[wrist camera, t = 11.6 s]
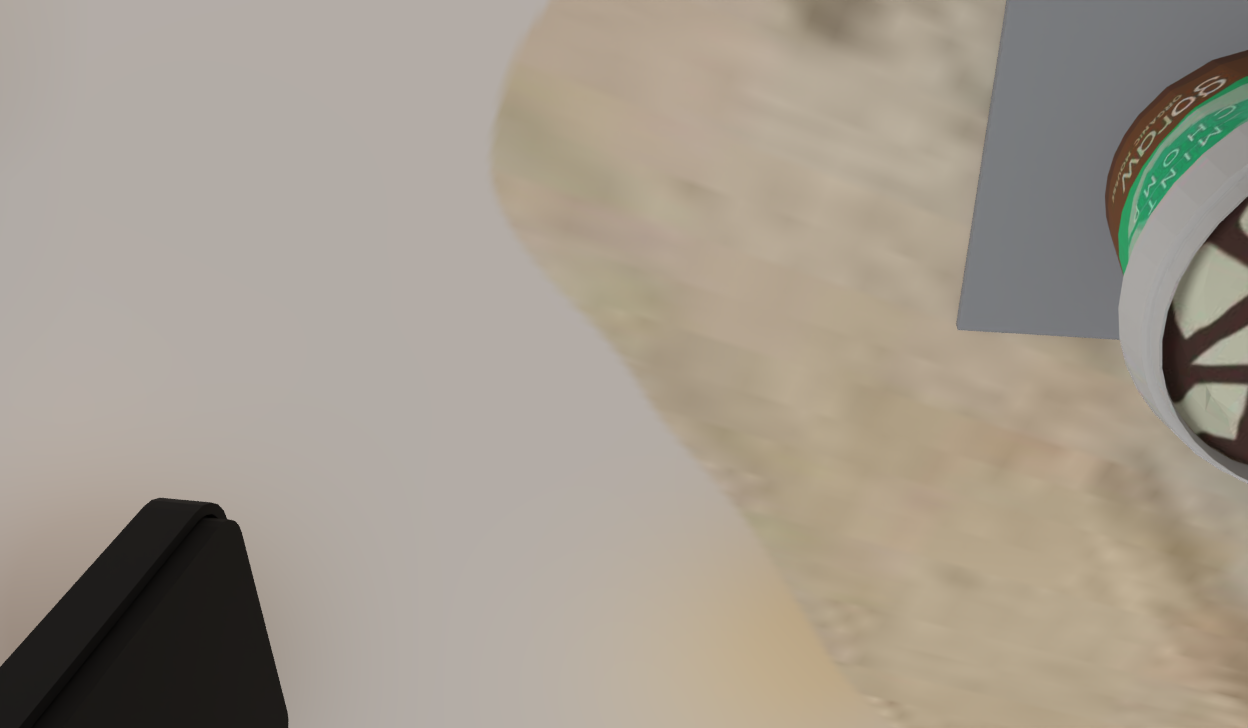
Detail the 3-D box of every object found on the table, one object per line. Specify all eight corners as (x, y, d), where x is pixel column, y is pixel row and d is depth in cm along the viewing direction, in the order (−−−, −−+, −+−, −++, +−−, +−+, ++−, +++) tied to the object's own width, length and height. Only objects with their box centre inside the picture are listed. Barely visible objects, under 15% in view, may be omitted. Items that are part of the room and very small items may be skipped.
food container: (1199, -64, 32) (1329, 7, 24) (1387, 7, 32) (1584, 103, 24) (1000, 277, 39) (1047, 429, 30) (1158, 335, 39) (1249, 503, 30)
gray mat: (1389, 349, 38) (1395, 356, 38) (956, 323, 41) (957, 329, 40) (1552, -69, 31) (1562, -65, 31) (1017, -71, 34) (1020, -69, 33)
